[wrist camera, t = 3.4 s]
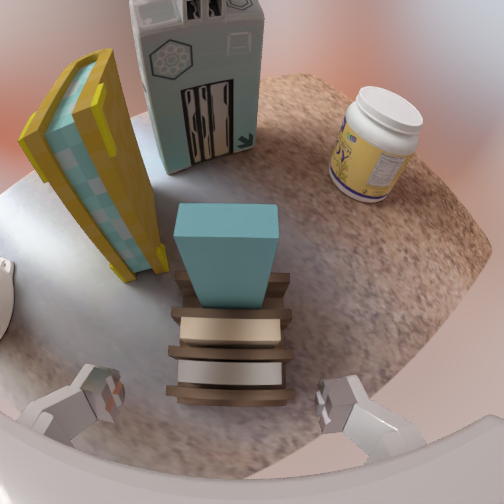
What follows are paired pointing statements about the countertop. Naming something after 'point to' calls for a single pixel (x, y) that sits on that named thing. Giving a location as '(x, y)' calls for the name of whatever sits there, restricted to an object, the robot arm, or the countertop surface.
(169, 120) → the device
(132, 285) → the countertop surface
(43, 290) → the countertop surface
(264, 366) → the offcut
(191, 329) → the block
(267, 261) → the tall sheet
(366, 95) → the supplement tub
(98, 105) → the book
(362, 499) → the robot arm
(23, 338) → the countertop surface
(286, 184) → the countertop surface
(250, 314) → the rack
